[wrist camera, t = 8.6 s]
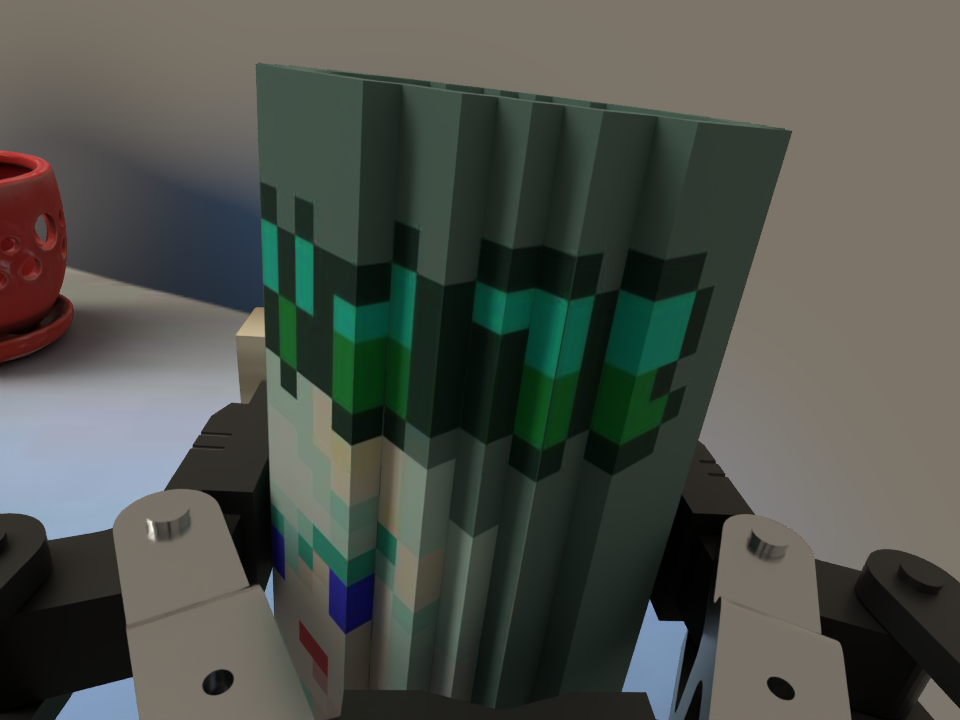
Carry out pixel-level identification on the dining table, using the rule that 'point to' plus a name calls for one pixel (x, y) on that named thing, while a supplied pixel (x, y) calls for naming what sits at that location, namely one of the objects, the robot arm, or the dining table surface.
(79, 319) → the dining table surface
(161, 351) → the dining table surface
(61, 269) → the plant pot
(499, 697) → the can
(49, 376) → the dining table surface
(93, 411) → the dining table surface
